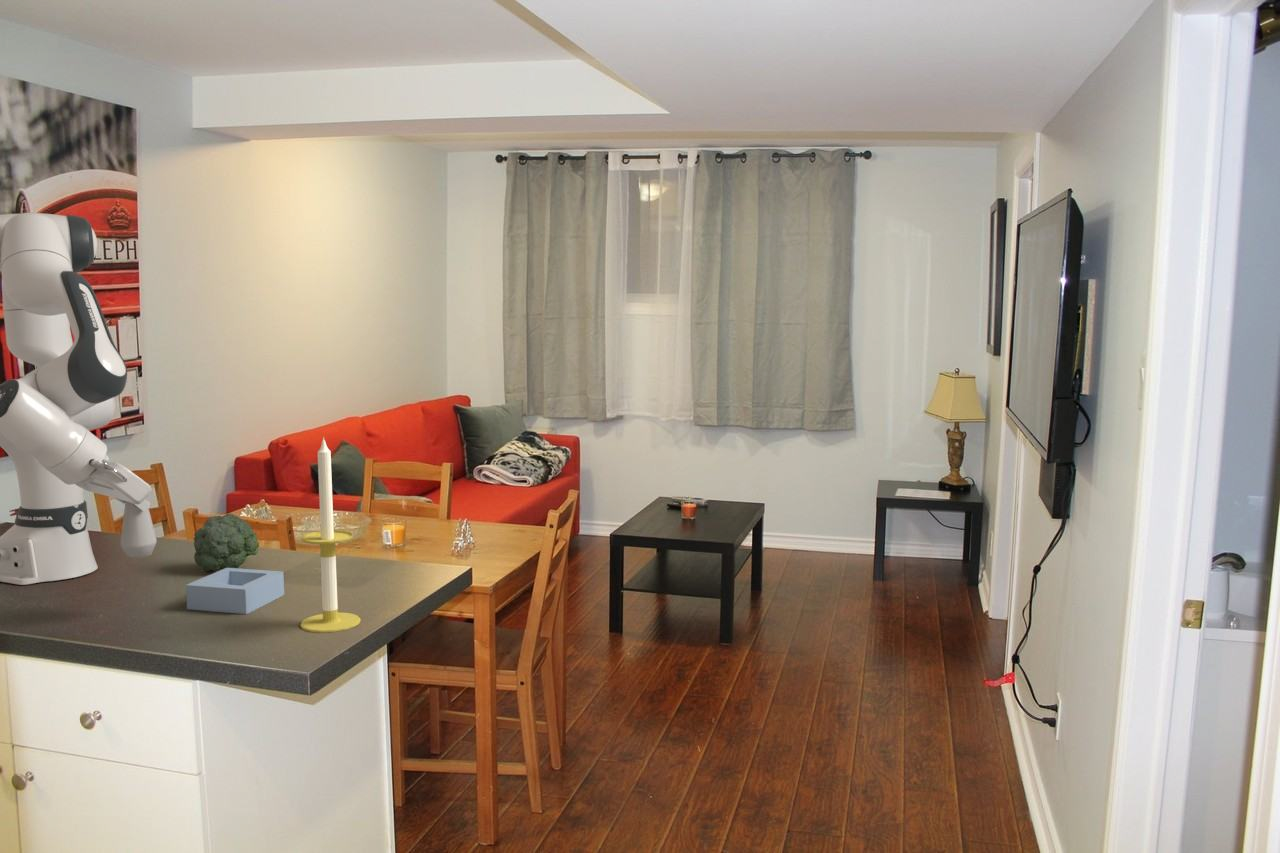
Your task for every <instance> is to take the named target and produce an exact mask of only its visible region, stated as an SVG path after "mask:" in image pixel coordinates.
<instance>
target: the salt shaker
mask: <svg viewBox="0 0 1280 853" xmlns="http://www.w3.org/2000/svg"><path fill="white" fill-rule="evenodd" d="M145 499H146V500H147V497H146V498H145ZM149 508H150V507H149ZM149 508H148V509H147V510H146V511H141V510H139V509H138V508H136V507H135V506H133V504H132V503H130V502H127V501H125V505H124V511H123V518H122V519H123V520H122V527H121V535H120V543H119V544H120V547H121V549H122V550H123V552H124V553H125V555H126V557H128V558H130V559H135V558H138V559H140V558H145V557H149V556H151V555H152V554H153V553H154V549H155V547H156V545H157V535H156V532H155V528H154V524H153V520H152V516H151V513H150V512H151V511H150V509H149Z"/></svg>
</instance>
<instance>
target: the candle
mask: <svg viewBox="0 0 1280 853" xmlns="http://www.w3.org/2000/svg"><path fill="white" fill-rule="evenodd" d="M320 445H321V446H320V448H319V449H318V451H317V472H318V496H319V522H320V525H319V526H320V530H319V531H313V532H312V531H311V532H308V533H306V534H304V535H302V536H301V537H300V539H301V540H300V541H302V542H303V543H306V544H310V545H311V544H312V545H319V553H320V576H321V577H320V578H321V580H320V581H321V604H322V613H320V614H319V613H318V614H316V615H311V616H309V617H307V618H304V619H303V620H301V623H300V628H301V629H302V630H303V631H306V632H310V633H322V634H324V633H335V632H342V631H347V630H349V629H353V628H354V627H356V626H357V625H359V624H360V623H361V618H360V617H359V616H358V615H357V614H354V613H350V612H341V611H340V612H339V610H338V609H339V606H338V604H339V603H338V582H337V581H338V580H337V558H336V557H337V555H336V553H337V552H336V544H339V543H343V542H346V541H347V542H348V541H349V540H351V539H353V537H354V533H352V532H351V531H349V530H337V529H334V528H335V527H334V509H333V508H334V506H333V504H334V503H333V483H332V482H333V480H332V476H333V475H332V458H331V457H332V456H331V454H332V452H331V450H330V449H329V448H328V446H327V443H326V439H325V436H323V438H322V440H321V444H320Z"/></svg>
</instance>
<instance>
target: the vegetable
mask: <svg viewBox="0 0 1280 853" xmlns="http://www.w3.org/2000/svg"><path fill="white" fill-rule="evenodd" d="M193 535H194V537H193V542H194V543H193V545H194V546H193V547H194V551H195V552H194V556H193V558H194V562H195V564H196V565H197V566H198V567H200V568H201V569H202V571H204V572H206V573H214V571H216V572H218V571H220V570H223V569H225V568H239V567H241V565H243V564H244V563H245V561H246V560H248V559H250V558H251V556H256V555H258V551H259V549H258V548H260V542H259V541H258V535H257V533H256V532H255V531H254V530H253V528H252V526H251V525H250V524H249V522H247V521H246V520H244V519H242V518H240V516H237V515H235V514H233V513H226V514H225V515H214V516H211V517H209V518H208V519H207V520H205V522H204V524H203V525H202V527H200V528H199V529H197V530H196V531H195V533H194V534H193Z"/></svg>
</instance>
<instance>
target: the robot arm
mask: <svg viewBox="0 0 1280 853" xmlns="http://www.w3.org/2000/svg"><path fill="white" fill-rule="evenodd" d="M97 252H98V239H97V235H96V233H95V230H94V229H93V227H92V225H91V223H90V221H88V219H86V218H85V217H82V216H79V215H74V214H67V215H63V214H62V215H61V214H52V213H42V212H22V213H6V214H3V213H2V214H0V272H1V281H2V293H1V294H2V309H3V320H4V329H5V330H4V331H5V340H6V347H7V349H8V350H9V352H10V353H11V354H12V355H13V357H15V358H17V359H19V360H20V361H22V362H25V363H28V364H30V365H31V364H32V365H34V366H35V367H36V368H35V369H33V370H31V371H30V372H28V373H26V374H25V375H24V376H22V377H20V378H18V379H16V378H11V379H7V380H5V381H3V382H2V383H1V384H0V448H2V449H3V450H4V451H5V453H6V454H7V455H8V457H9V458H10V460H11V463H12V464H13V466H14V468H15V471H16V476H17V481H18V489H19V497H20V506H19V507H17V508H15V509H11V510H9V512H10V513H11V512H13V513H11V514H9V516H10V517H13V516H16V517H15V519H14V524H13V525H12V526H11V527H10V528H9V529H7V530H6V531H5V532H4V533H3V534H1V535H0V582H1V583H8V584H14V585H18V586H19V585H21V586H22V585H23V586H25V585H32V584H36V583H44V582H54V581H61V580H68V579H72V578H78V577H82V576H85V575H88V574H91V573H94V572H95V571H97V570H98V568H99V567H98V563H97V562H96V558H95V555H94V552H93V549H92V544H91V539H90V535H89V530H88V526H87V524H88V517H89V516H88V514H89V513H88V505H87V504H88V503H87V501H86V500H85V497H84V496H85V495H84V494H85V492H84V490H85V491H87V492H91V493H95V494H98V495H102V496H106V497H109V498H113V499H114V500H116V501H119V502H120V503H122V504H123V505H124V506H125V501H127V502H130V503H132V504H133V506H135V507H136V508H138V509H139V510H141V511H146V510H147V509H148V508H150V507H151V502H150V501H148V500H147V497H148V496H149V495H150V494H151V493H152V489H153V488H152V486H150V484H149V483H147V482H146V481H145V480H144V479H142V478H141V477H140V476H138V475H137V474H136V473H135V472H133V471H131V470H130V469H129V468H127V467H126V466H124V465H123V464H121V463H119V462H116V461H112V460H110V458H109V456H108V455H107V452H108V446H107V444H106V443H105V442H103V441H102V440H101V439H100V438H99V437H98V436H96V435H95V434H93V433H92V432H91V431H93V430H96V429H97V430H98V429H100V428H102V427H106V426H108V424H109V423H110V422H111V421H112V419H113V417H114V415H115V411H116V398H115V397H118V396H119V395H121V394H123V391H124V390H125V387H126V385H127V384H126V383H127V381H128V380H127V379H128V368H127V365H126V362H125V361H124V358H123V357H122V355H121V353H120V352H119V351H118V348H117V347H116V345H115V343H114V341H113V338H112V334H111V333H110V329H109V327H108V324H107V321H106V318H105V316H104V313H103V311H102V307H101V305H100V303H99V300H98V297H97V295H96V293H95V291H94V289H93V287H92V285H91V284H90V282H89V281H88V280H87V279H86V278H85V277H84V276H82V274H80V272H81V271H83V270H84V271H85V270H86V269H88V268H89V267H90V266H91V265H92V264H93V263H94V261H95V257H96V255H97ZM78 272H79V273H78ZM72 335H73V337H74V341H73V338H72ZM145 498H146V499H145Z"/></svg>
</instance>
